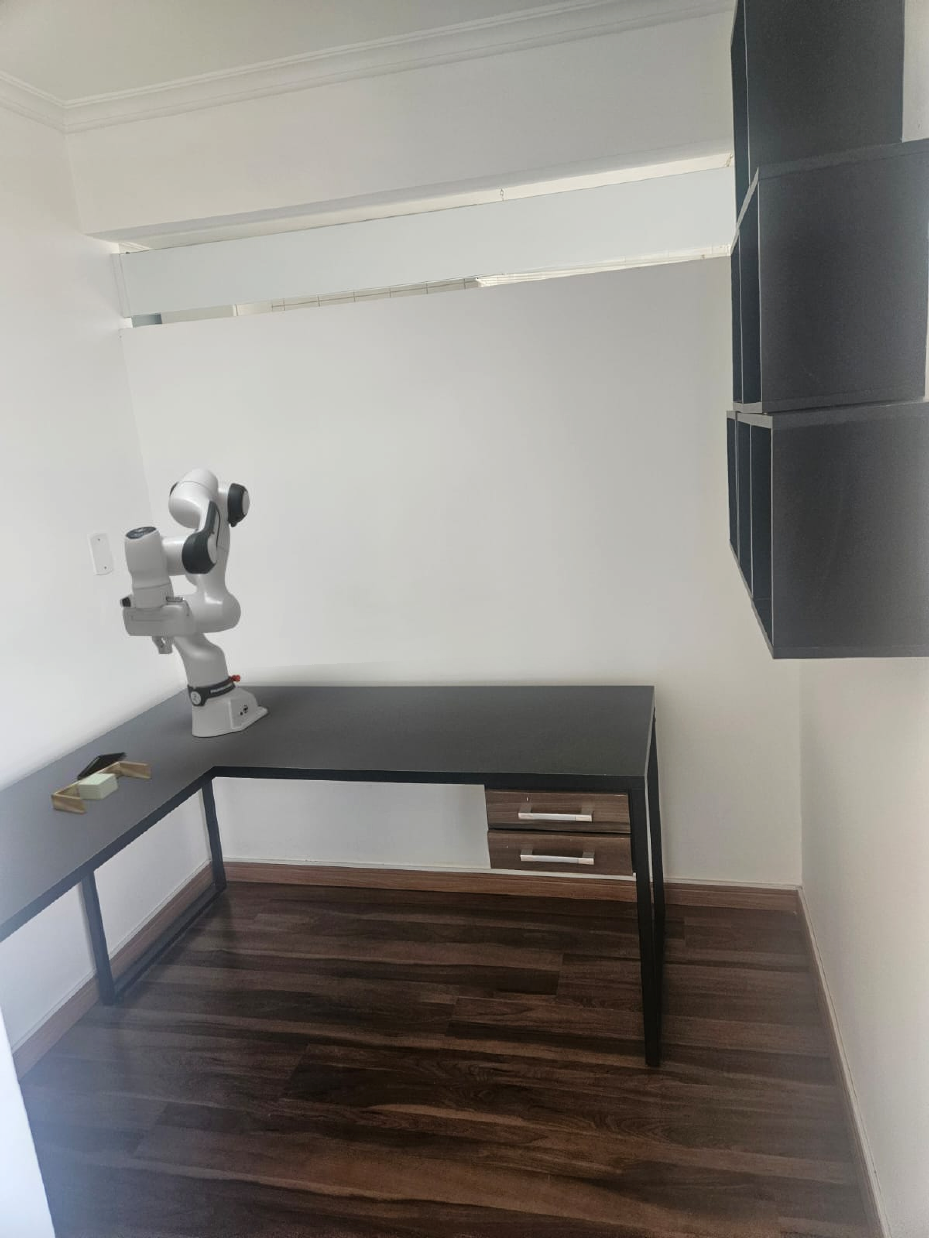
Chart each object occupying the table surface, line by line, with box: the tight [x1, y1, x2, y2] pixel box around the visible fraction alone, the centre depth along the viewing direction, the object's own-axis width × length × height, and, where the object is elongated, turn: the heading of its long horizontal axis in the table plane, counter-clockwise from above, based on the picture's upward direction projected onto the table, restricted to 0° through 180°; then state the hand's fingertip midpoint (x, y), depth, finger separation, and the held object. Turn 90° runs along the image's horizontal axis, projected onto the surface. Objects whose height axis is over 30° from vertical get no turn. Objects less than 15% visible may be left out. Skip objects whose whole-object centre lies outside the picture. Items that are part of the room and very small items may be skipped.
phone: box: [76, 751, 127, 781], centre depth 226 cm, size 8×1×15 cm
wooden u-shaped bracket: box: [50, 760, 152, 814], centre depth 208 cm, size 20×10×4 cm, turn 152°
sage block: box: [77, 774, 119, 800], centre depth 207 cm, size 6×6×4 cm
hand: (166, 653), depth 206 cm, fingers closed
